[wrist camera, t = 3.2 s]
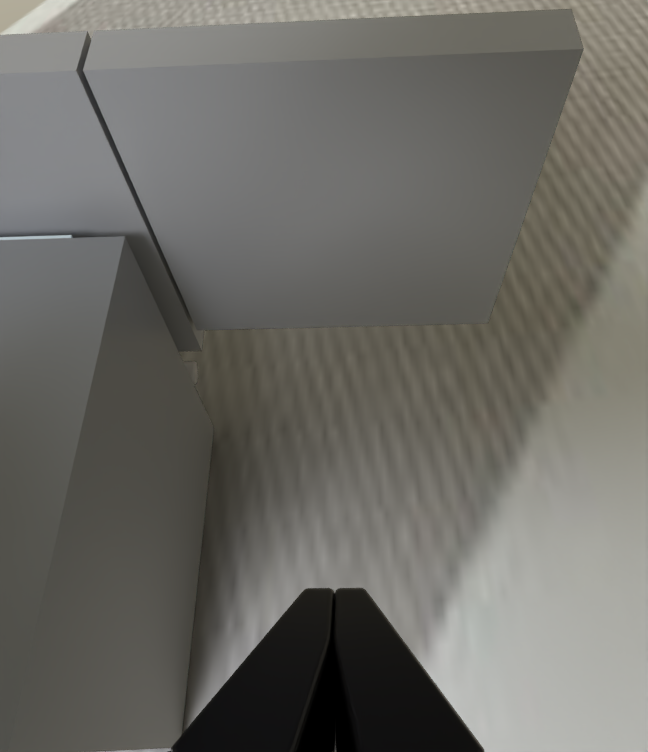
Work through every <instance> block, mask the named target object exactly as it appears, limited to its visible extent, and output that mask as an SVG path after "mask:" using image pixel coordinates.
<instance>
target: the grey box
mask: <svg viewBox="0 0 648 752" xmlns="http://www.w3.org/2000/svg"><path fill="white" fill-rule="evenodd" d="M197 380H198V367H197V363H196V361H183V360H182V358H181V356H180V354H179V352H178V349H177V347H176V345H175V343H174V341H173V339H172V337H171V334H170V332H169V330H168V328H167V326H166V324H165V321H164V319H163V317H162V315H161V313H160V311H159V308H158V306H157V304H156V302H155V300H154V298H153V296H152V293H151V291H150V289H149V287H148V285H147V283H146V280H145V278H144V276H143V274H142V272H141V270H140V268H139V265H138V263H137V261H136V259H135V257H134V255H133V252H132V250H131V248H130V246H129V244H128V242H127V239H126V237H125V236H117V237H84V238H73V237H72V235H57V236H25V237H0V752H95V751H116V750H137V749H157V748H172V746H173V745H174V743H175V742H176V741H177V740H178V739H179V738H180V736H181V735H182V728H183V718H184V709H185V699H186V690H187V681H188V671H189V662H190V652H191V643H192V633H193V624H194V614H195V605H196V595H197V586H198V576H199V567H200V557H201V548H202V538H203V529H204V519H205V510H206V501H207V491H208V482H209V472H210V463H211V453H212V444H213V434H214V427H213V425H212V423H211V421H210V418H209V416H208V414H207V412H206V410H205V408H204V406H203V403H202V401H201V399H200V397H199V395H198V393H197V390H196V388H195V386H194V384H196V383H197Z"/></svg>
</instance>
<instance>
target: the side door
mask: <svg viewBox="0 0 648 752" xmlns="http://www.w3.org/2000/svg"><path fill="white" fill-rule="evenodd" d="M583 49H584V48H583V45H582V42H581V38H580V35H579V32H578V28H577V25H576V22H575V19H574V15H573V12H572V9H558V10H536V11H514V12H492V13H470V14H448V15H426V16H405V17H383V18H361V19H339V20H317V21H295V22H273V23H251V24H229V25H208V26H186V27H164V28H142V29H120V30H98V31H94V33H93V36H92V40H91V38H90V36H89V34H88V31H76V32H54V33H32V34H10V35H0V237H25V236H57V235H72V237H73V238H84V237H117V236H125V237H126V239H127V242H128V244H129V246H130V248H131V250H132V252H133V255H134V257H135V259H136V261H137V263H138V265H139V268H140V270H141V272H142V274H143V276H144V278H145V280H146V283H147V285H148V287H149V289H150V291H151V293H152V296H153V298H154V300H155V302H156V304H157V306H158V308H159V311H160V313H161V315H162V317H163V319H164V321H165V324H166V326H167V328H168V330H169V332H170V334H171V337H172V339H173V341H174V343H175V345H176V347H177V349H178V352H179V351H202V346H203V337H204V330H234V329H276V328H317V327H359V326H401V325H443V324H484V323H488V321H489V318H490V315H491V313H492V310H493V307H494V304H495V301H496V298H497V295H498V292H499V290H500V287H501V284H502V281H503V278H504V275H505V272H506V270H507V267H508V264H509V261H510V258H511V255H512V252H513V250H514V247H515V244H516V241H517V238H518V235H519V232H520V230H521V227H522V224H523V221H524V218H525V215H526V212H527V210H528V207H529V204H530V201H531V198H532V195H533V192H534V189H535V187H536V184H537V181H538V178H539V175H540V172H541V169H542V167H543V164H544V161H545V158H546V155H547V152H548V149H549V147H550V144H551V141H552V138H553V135H554V132H555V129H556V127H557V124H558V121H559V118H560V115H561V112H562V109H563V107H564V104H565V101H566V98H567V95H568V92H569V89H570V87H571V84H572V81H573V78H574V75H575V72H576V69H577V66H578V64H579V61H580V58H581V55H582V52H583Z"/></svg>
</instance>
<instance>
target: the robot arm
mask: <svg viewBox="0 0 648 752" xmlns="http://www.w3.org/2000/svg"><path fill="white" fill-rule="evenodd" d="M168 752H484V749H483V747H482V746H481V744H480V743H479V742H478V740H477V739H476V738H475V736H474V735H473V734H472V732H471V731H470V730H469V728H468V727H467V726H466V724H465V723H464V722H463V720H462V719H461V718H460V716H459V715H458V714H457V712H456V711H455V709H454V708H453V707H452V705H451V704H450V703H449V701H448V700H447V699H446V697H445V696H444V695H443V693H442V692H441V691H440V689H439V688H438V687H437V685H436V684H435V683H434V681H433V680H432V679H431V677H430V676H429V675H428V673H427V672H426V670H425V669H424V668H423V666H422V665H421V664H420V662H419V661H418V660H417V658H416V657H415V656H414V654H413V653H412V652H411V650H410V649H409V648H408V646H407V645H406V644H405V642H404V641H403V640H402V638H401V637H400V636H399V634H398V633H397V631H396V630H395V629H394V627H393V626H392V625H391V623H390V622H389V621H388V619H387V618H386V617H385V615H384V614H383V613H382V611H381V610H380V609H379V607H378V606H377V605H376V603H375V602H374V601H373V599H372V598H371V597H370V595H369V594H368V592H367V591H366V590H365V589H363V588H339V589H337V590H336V592H335V593H334V591H333V590H332V589H330V588H308V589H305V590H304V591H303V592H302V593H301V594H300V595H299V596H298V598H297V599H296V600H295V601H294V602H293V604H292V605H291V606H290V607H289V608H288V610H287V611H286V612H285V613H284V614H283V615H282V617H281V618H280V619H279V620H278V621H277V623H276V624H275V625H274V626H273V627H272V628H271V630H270V631H269V632H268V633H267V634H266V636H265V637H264V638H263V639H262V640H261V642H260V643H259V644H258V645H257V646H256V647H255V649H254V650H253V651H252V652H251V653H250V655H249V656H248V657H247V658H246V659H245V660H244V662H243V663H242V664H241V665H240V666H239V668H238V669H237V670H236V671H235V672H234V674H233V675H232V676H231V677H230V678H229V679H228V681H227V682H226V683H225V684H224V685H223V687H222V688H221V689H220V690H219V691H218V693H217V694H216V695H215V696H214V697H213V698H212V700H211V701H210V702H209V703H208V704H207V706H206V707H205V708H204V709H203V710H202V711H201V713H200V714H199V715H198V716H197V717H196V719H195V720H194V721H193V722H192V723H191V725H190V726H189V727H188V728H187V729H186V730H185V732H184V733H183V734H182V735H181V736H180V738H179V739H178V740H177V741H176V742H175V743H174V745H173V746H172V748H171V751H168Z"/></svg>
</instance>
